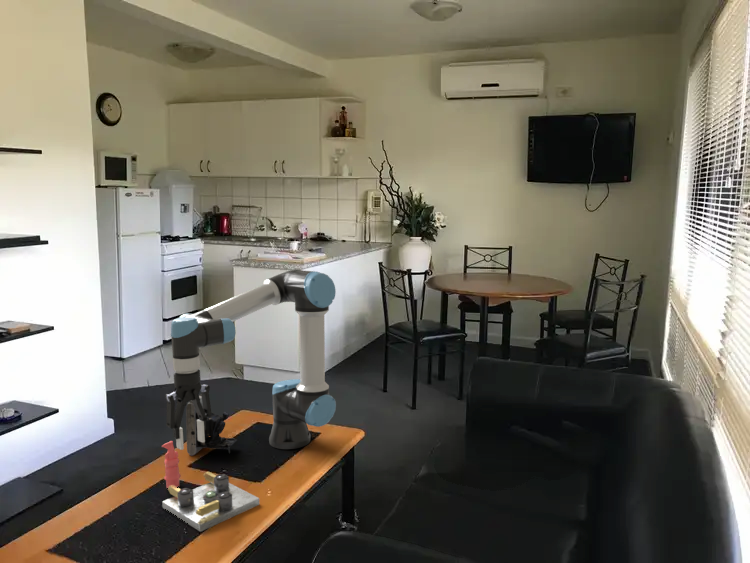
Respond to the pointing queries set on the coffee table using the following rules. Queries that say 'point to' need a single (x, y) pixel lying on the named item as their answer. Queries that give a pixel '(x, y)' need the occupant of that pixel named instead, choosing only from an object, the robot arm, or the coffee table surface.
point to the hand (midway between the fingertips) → (190, 444)
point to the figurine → (171, 465)
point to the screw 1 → (182, 495)
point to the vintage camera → (206, 431)
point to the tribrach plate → (206, 495)
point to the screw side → (217, 504)
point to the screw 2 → (218, 481)
